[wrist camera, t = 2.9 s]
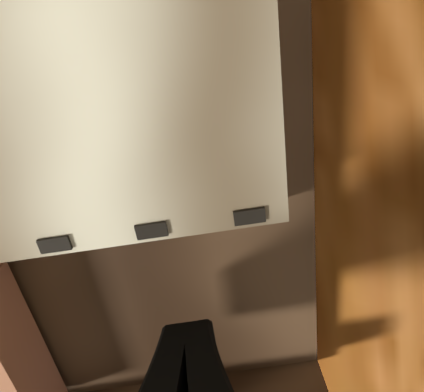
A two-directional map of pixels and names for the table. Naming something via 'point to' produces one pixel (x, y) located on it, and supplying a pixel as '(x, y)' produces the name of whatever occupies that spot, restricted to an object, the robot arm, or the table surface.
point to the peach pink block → (23, 344)
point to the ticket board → (162, 183)
